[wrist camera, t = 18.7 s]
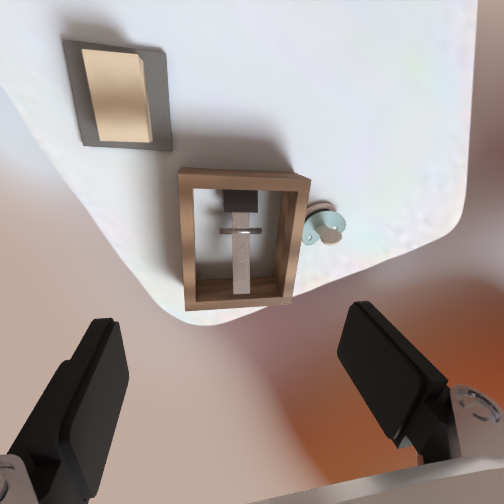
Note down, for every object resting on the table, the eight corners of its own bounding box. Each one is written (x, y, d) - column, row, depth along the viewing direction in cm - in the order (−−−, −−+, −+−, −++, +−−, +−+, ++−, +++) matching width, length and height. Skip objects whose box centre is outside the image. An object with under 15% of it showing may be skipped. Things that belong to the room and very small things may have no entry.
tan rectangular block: (93, 57, 26) (81, 48, 24) (143, 61, 27) (137, 54, 25) (108, 140, 30) (100, 140, 27) (153, 141, 31) (148, 142, 28)
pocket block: (180, 167, 33) (177, 174, 28) (294, 172, 36) (311, 179, 31) (187, 288, 41) (185, 311, 36) (279, 283, 44) (290, 304, 39)
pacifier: (291, 211, 39) (299, 244, 42) (306, 222, 34) (314, 260, 36) (334, 195, 39) (340, 229, 42) (356, 204, 34) (361, 243, 36)
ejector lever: (218, 188, 35) (219, 187, 34) (259, 189, 37) (261, 188, 36) (220, 293, 36) (220, 295, 35) (260, 291, 37) (262, 293, 36)
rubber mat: (65, 41, 26) (62, 39, 25) (166, 54, 28) (165, 53, 27) (85, 145, 30) (83, 146, 30) (172, 150, 32) (171, 151, 32)
